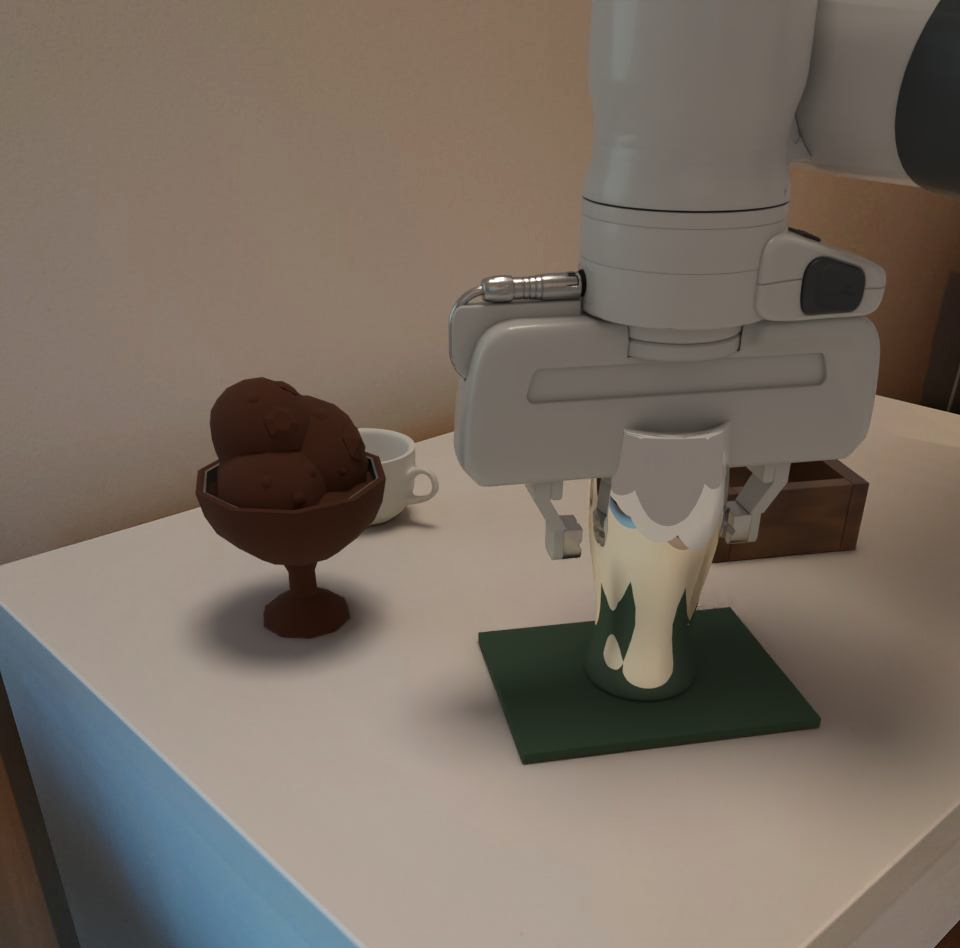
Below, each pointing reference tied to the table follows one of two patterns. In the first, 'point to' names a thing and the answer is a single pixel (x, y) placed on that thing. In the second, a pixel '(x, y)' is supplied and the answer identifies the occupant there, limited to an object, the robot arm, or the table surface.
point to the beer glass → (654, 557)
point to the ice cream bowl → (289, 492)
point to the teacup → (396, 470)
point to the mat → (628, 723)
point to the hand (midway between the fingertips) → (650, 546)
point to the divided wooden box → (803, 512)
